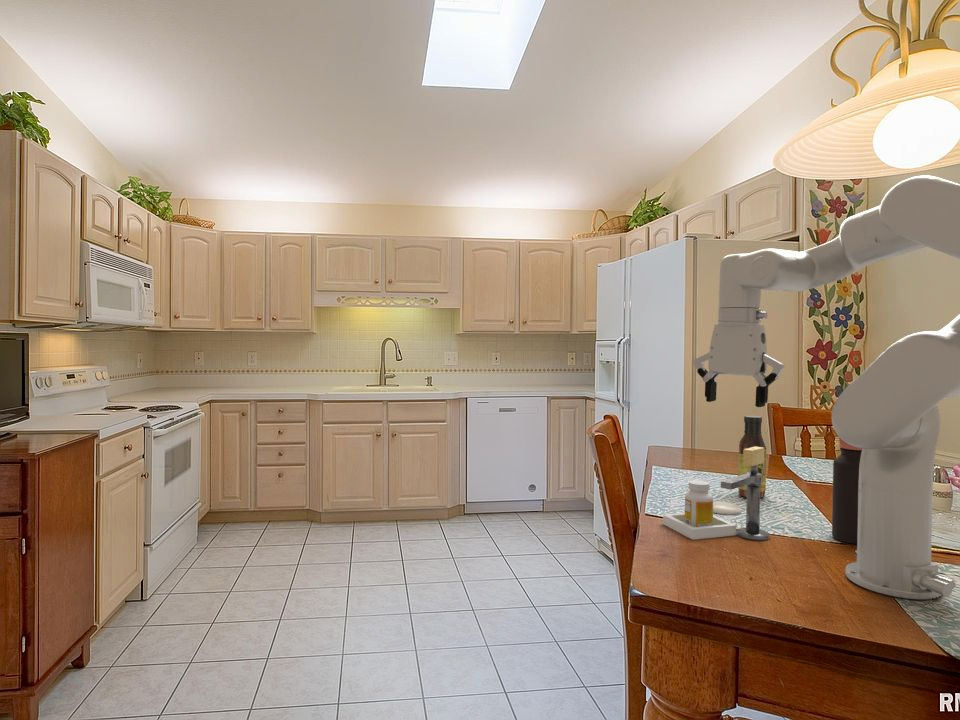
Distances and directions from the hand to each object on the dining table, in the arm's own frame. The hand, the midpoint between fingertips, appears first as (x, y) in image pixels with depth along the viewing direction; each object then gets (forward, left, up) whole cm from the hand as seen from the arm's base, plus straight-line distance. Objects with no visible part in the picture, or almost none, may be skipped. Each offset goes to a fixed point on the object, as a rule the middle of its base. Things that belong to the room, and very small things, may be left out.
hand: (734, 403), depth 116 cm
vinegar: (-9, -20, -26) cm, 34 cm away
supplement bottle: (+4, +5, -26) cm, 27 cm away
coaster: (+15, -9, -26) cm, 31 cm away
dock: (+4, +5, -26) cm, 27 cm away
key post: (-2, -3, -26) cm, 26 cm away
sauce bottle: (+23, -24, -26) cm, 42 cm away
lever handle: (-4, +1, -16) cm, 16 cm away
